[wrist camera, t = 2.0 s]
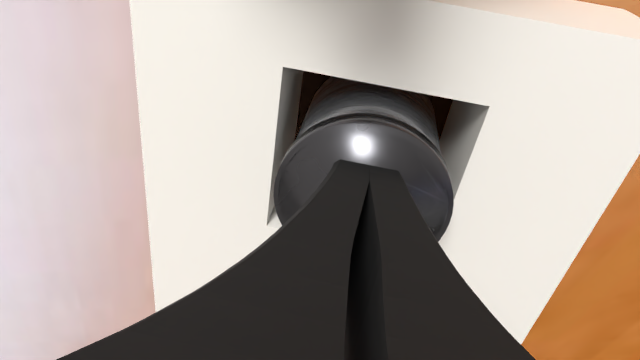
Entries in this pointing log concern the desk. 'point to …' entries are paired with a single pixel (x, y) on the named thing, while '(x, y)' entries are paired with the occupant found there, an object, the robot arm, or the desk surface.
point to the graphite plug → (368, 146)
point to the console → (402, 73)
